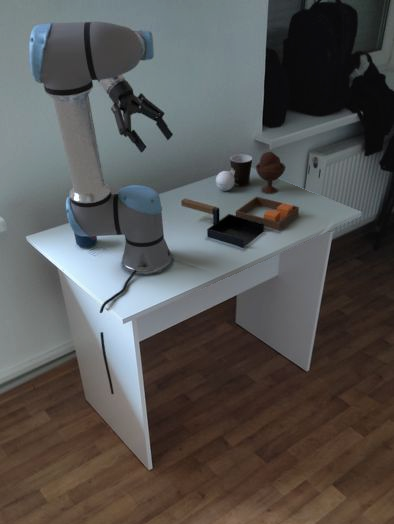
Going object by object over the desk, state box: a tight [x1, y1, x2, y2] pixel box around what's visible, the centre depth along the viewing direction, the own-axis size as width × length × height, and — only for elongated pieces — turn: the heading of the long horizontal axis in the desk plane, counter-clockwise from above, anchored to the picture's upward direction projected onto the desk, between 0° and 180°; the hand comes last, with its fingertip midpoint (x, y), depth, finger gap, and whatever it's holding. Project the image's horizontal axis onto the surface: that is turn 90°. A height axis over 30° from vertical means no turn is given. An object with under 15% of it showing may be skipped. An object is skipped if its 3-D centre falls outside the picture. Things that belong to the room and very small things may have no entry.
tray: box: [235, 196, 300, 232], centre depth 177 cm, size 17×14×4 cm
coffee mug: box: [229, 153, 253, 188], centre depth 200 cm, size 12×9×10 cm
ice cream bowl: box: [255, 151, 286, 194], centre depth 191 cm, size 11×11×15 cm
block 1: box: [263, 208, 281, 222], centre depth 172 cm, size 4×4×4 cm
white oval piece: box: [215, 170, 235, 192], centre depth 195 cm, size 10×7×7 cm
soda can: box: [73, 231, 98, 250], centre depth 164 cm, size 7×7×12 cm
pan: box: [180, 198, 265, 249], centre depth 170 cm, size 29×13×8 cm, turn 54°
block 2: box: [276, 202, 294, 220], centre depth 176 cm, size 4×4×4 cm
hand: (157, 143), depth 164 cm, fingers open, 13 cm apart
